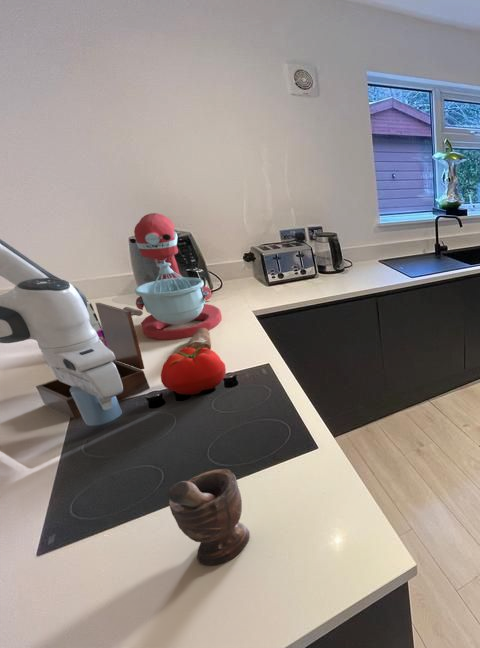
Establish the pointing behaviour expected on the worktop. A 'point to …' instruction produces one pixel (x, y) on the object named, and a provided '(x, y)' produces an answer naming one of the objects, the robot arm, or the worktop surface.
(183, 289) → the stand mixer
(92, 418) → the canister
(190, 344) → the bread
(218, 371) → the tomato
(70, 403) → the brown wooden box
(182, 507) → the mortar and pestle
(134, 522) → the worktop surface
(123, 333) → the lid
